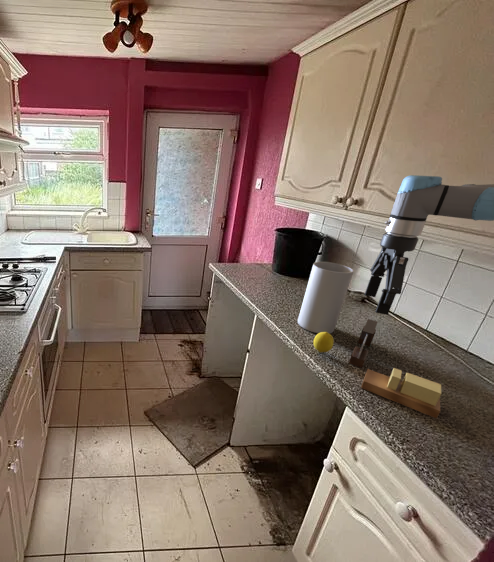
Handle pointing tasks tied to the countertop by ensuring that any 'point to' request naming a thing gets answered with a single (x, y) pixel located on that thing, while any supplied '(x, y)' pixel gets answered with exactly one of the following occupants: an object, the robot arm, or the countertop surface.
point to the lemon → (323, 342)
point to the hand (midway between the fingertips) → (375, 304)
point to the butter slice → (394, 379)
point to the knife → (368, 332)
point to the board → (397, 394)
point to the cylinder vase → (324, 296)
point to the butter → (421, 389)
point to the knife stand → (363, 355)
